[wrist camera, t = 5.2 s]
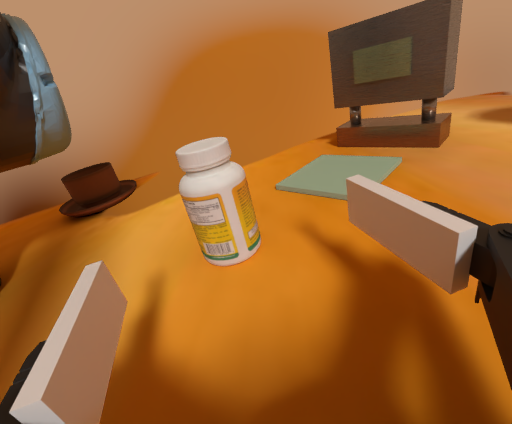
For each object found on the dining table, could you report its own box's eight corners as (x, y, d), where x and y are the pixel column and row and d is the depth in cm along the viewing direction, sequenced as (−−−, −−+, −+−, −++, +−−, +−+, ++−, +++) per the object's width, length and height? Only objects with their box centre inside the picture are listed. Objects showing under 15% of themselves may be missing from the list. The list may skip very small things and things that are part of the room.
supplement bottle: (216, 277, 21) (173, 162, 17) (197, 248, 26) (159, 151, 21) (273, 247, 23) (247, 136, 19) (246, 225, 27) (220, 132, 23)
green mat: (276, 189, 34) (275, 184, 34) (322, 158, 40) (322, 154, 40) (360, 202, 26) (360, 196, 26) (401, 161, 33) (401, 157, 32)
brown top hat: (63, 212, 47) (43, 179, 44) (131, 185, 53) (116, 155, 50) (68, 231, 38) (43, 192, 35) (149, 197, 43) (133, 160, 41)
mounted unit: (337, 147, 43) (326, 32, 36) (352, 137, 46) (345, 29, 39) (438, 148, 34) (451, -9, 27) (449, 135, 37) (463, -9, 30)
